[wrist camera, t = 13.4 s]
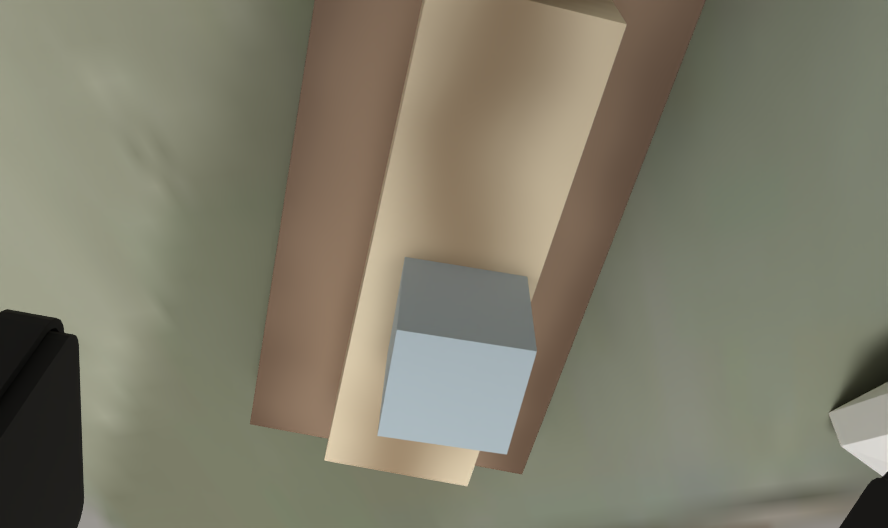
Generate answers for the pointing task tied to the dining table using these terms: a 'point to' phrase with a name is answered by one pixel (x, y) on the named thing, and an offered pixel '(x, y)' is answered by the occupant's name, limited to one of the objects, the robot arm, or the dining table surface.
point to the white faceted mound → (865, 428)
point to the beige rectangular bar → (471, 181)
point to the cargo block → (457, 356)
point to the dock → (359, 187)
